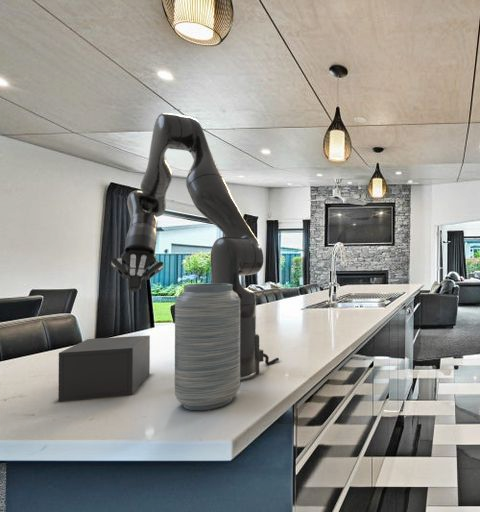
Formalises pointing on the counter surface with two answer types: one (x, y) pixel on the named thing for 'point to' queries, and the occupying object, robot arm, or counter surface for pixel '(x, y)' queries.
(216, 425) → the counter surface
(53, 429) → the counter surface
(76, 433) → the counter surface
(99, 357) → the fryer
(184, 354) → the vase
